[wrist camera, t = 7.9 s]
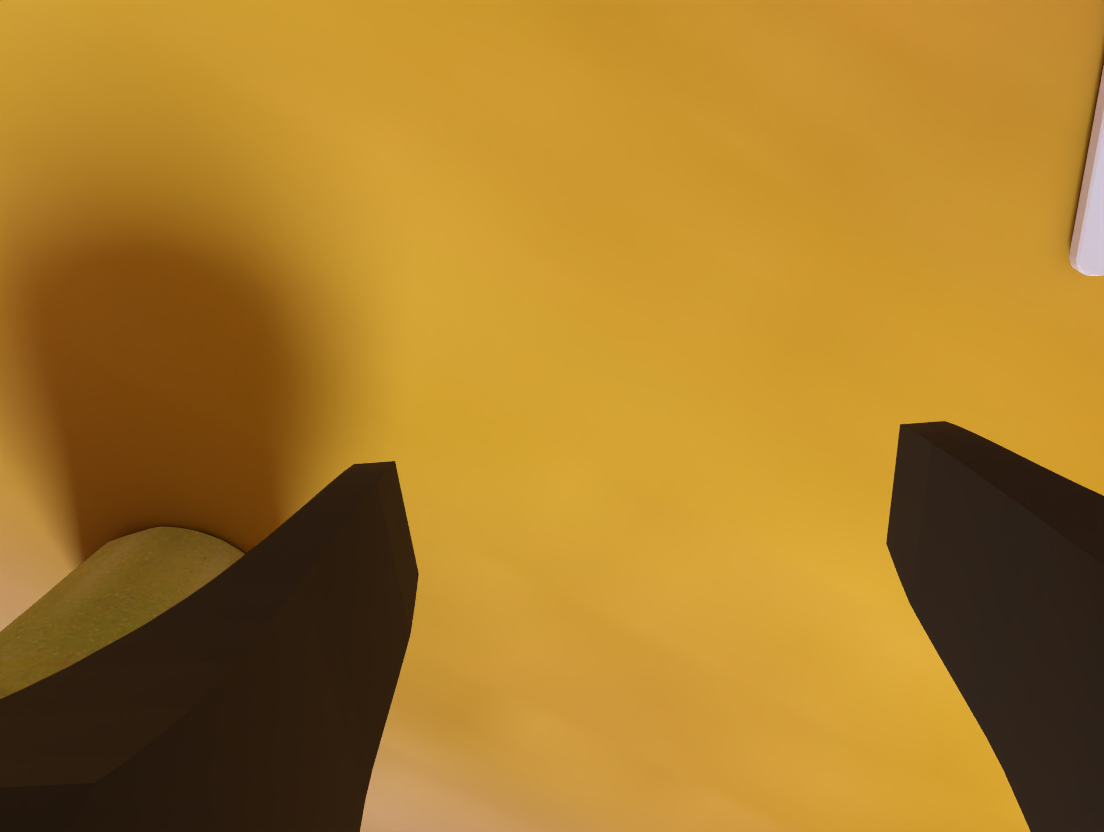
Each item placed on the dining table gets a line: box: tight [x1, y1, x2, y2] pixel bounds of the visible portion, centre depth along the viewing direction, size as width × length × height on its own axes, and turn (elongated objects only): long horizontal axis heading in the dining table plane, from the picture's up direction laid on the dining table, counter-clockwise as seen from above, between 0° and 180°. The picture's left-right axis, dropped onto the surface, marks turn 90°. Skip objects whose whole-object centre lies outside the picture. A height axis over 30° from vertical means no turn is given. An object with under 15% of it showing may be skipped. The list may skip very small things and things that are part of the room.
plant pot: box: [0, 527, 245, 699], centre depth 22 cm, size 9×9×9 cm
